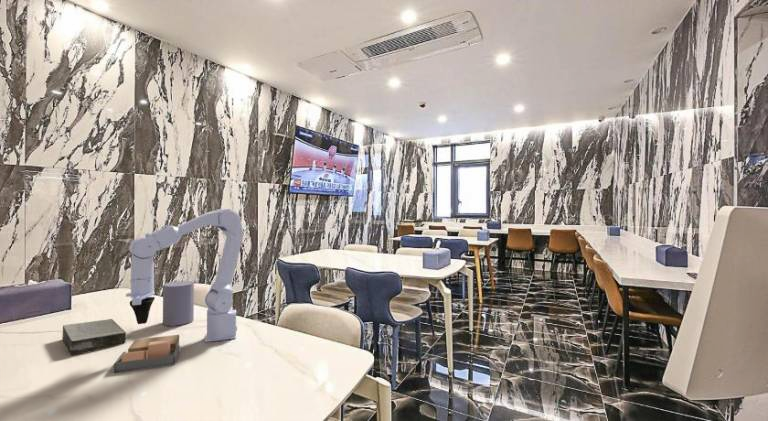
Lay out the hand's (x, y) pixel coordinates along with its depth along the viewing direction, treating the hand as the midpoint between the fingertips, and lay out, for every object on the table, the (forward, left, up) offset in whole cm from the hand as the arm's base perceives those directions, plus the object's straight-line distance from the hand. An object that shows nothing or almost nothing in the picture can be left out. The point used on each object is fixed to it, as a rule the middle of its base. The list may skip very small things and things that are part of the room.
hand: (142, 323), depth 105 cm
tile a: (-6, +6, -7) cm, 10 cm away
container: (-5, -31, -10) cm, 33 cm away
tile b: (0, +7, -6) cm, 9 cm away
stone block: (+17, -19, -10) cm, 27 cm away
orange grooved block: (-3, -2, -10) cm, 10 cm away
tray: (-3, +7, -10) cm, 12 cm away
